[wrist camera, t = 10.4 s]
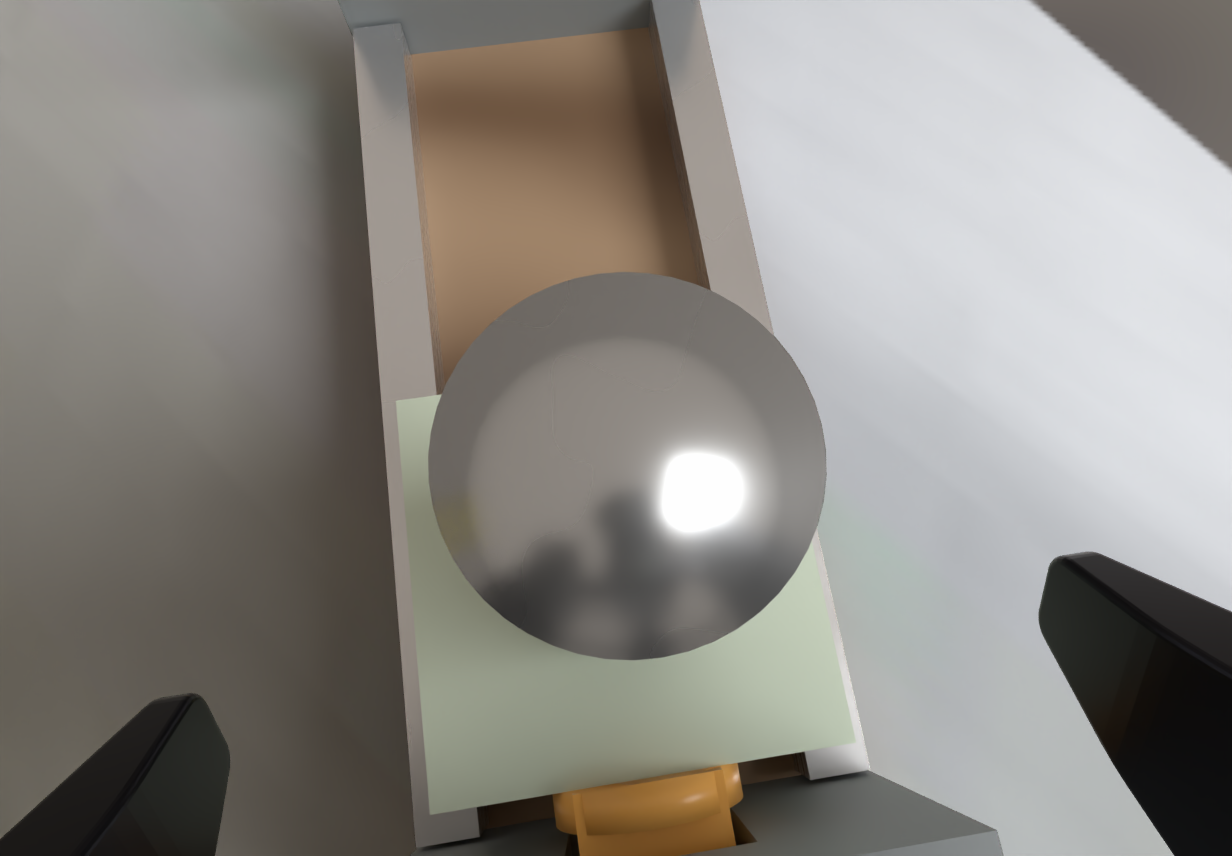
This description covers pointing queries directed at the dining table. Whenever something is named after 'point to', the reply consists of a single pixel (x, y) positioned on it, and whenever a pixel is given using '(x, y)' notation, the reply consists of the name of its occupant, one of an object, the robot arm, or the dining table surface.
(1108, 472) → the dining table surface
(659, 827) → the gauge plunger
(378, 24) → the rail
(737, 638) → the carriage
